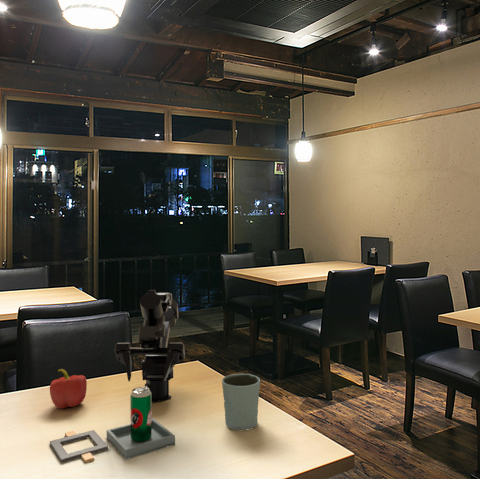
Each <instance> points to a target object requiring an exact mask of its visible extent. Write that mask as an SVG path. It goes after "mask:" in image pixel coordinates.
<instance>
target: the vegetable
mask: <svg viewBox="0 0 480 479" xmlns="http://www.w3.org/2000/svg"><path fill="white" fill-rule="evenodd" d="M57 372H58V373H62V374H63V376H62V377H59V378H57V379H53V380H52V381H51V383H50V385H49V395H50V398H51V401H52V402H51V403H53V405H54V406H55V407H56V408H58V409H65V408H72V407H76V406H78V405H80V404H81V403H83V401H84V400H85V399H86V398H85V397H86V395H87V386H88V381H87V378H86V376H84V375H83V374H82V375H81V374H80V375H77V374H75V375H73V374H72V375H69V374H68V372H67V371H66V370H65V369H63V368H60V369H58V370H57Z"/></svg>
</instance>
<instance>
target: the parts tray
mask: <svg viewBox="0 0 480 479" xmlns="http://www.w3.org/2000/svg"><path fill="white" fill-rule="evenodd" d="M106 440H107V441H108V443H110V444H111V446H112V447H114V449H115V450H116V451H117V452H118V453H119V454H120V455H121V457H122V458H123V459H124V460H130V459H132V458H136V457H139V456H142V455H145V454H149V453H152V452H154V451H155V452H156V451H159V450H161V449H162V450H163V449H166V448H168V447H171V446H175V445H176V435H175V434H174V433H173V432H171V431H170V430H169V429H168V428H166V427H165V426H163V425H162V423H160V422H159V421H157V420H156V419H155V418H153V417H152V436H151V438H150V439H149V440H147V441H145V442H135V441H133V440H132V439H131V423H129V424H125V425H121V426H117V427H113V428H109V429H106Z"/></svg>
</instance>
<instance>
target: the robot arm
mask: <svg viewBox="0 0 480 479" xmlns="http://www.w3.org/2000/svg"><path fill="white" fill-rule="evenodd" d="M139 305H140V310H141V315H142V318H143V319H144V320H143V325H142V326H139V327H138V337H137V338H138V344H139V345H140V347H132V345H131V342H117V343H115V345H114V348H113V352H114V355H115V358H116V361H118V362H120V363H121V364H122V365H125V370H126V376H127V381H128V382H131V378H132V372H133V371H132V369H133V360H132V359H133V356H144V359H143V360H142V362H141V374H142V375H141V376H142V381H145V383H144V387H148V388H150V392H151V393H152V404H153V403H158V402H162V401H167V400H170V399H172V396H171V395H170V381H171V380H172V379H174V367H175V366H176V364H179V363H180V362H183V361H185V357H186V356H185V354H186V351H185V344H184V343H183V342H179V341H178V342H176V341H175V342H173V341H171V342H169V339H170V330H171V329H172V328H174V326H176V323H177V320H178V319H179V305H178V302H177V301H176V300H175V299H174V298H173V294H172V293H170V292H156V289H148V292H146V293H145V294H143V295H142V296H141V298H140V299H139Z"/></svg>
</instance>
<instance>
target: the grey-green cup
mask: <svg viewBox="0 0 480 479" xmlns="http://www.w3.org/2000/svg"><path fill="white" fill-rule="evenodd" d="M221 383H222V384H221V385H222V392H223V393H222V396H223V405H224V406H223V408H224V416H225V417H224V419H225V420H224V421H225V426H226V425H227V426H228V427H229V428H228V427H227V426H226V427H227V428H228V429H230V428H231V430H233V429H235V430H234V431H239V430H244V431H247V430H246V429H250V430H252V429H251V428H253V427H255V426H256V427H257V425H258V416H259V415H258V414H259V411H258V410H259V409H258V408H259V401H260V400H259V398H260V386H261V378H260V377H258V376H256V375H254V374H250V373H234V374H230V375H226V376H224V377H223V378H222V379H221ZM256 427H255V428H256ZM253 429H254V428H253Z"/></svg>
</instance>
